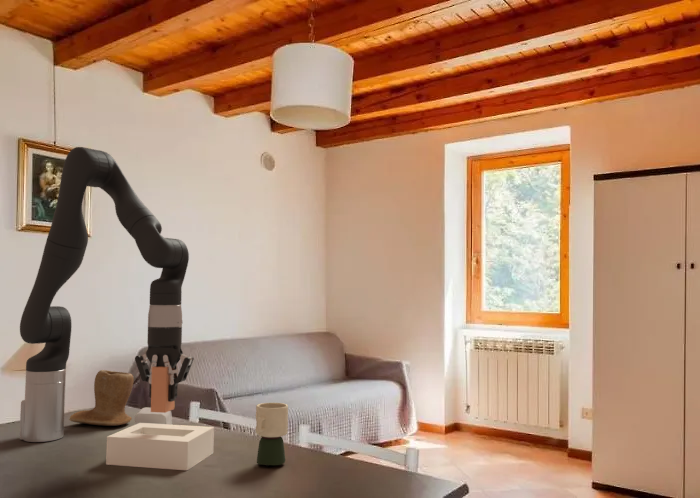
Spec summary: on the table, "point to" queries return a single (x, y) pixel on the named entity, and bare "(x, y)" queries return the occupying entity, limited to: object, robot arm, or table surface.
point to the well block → (160, 446)
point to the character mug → (271, 432)
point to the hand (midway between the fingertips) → (163, 400)
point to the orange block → (160, 390)
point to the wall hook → (153, 417)
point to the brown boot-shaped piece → (108, 400)
